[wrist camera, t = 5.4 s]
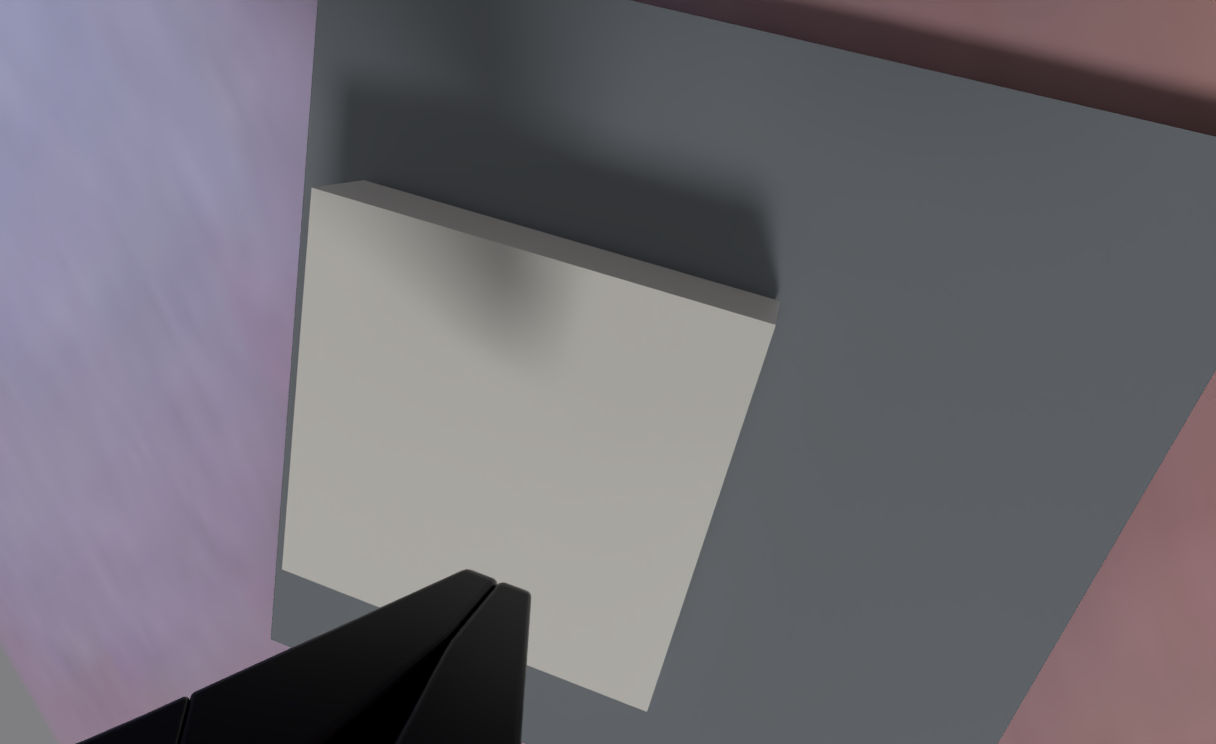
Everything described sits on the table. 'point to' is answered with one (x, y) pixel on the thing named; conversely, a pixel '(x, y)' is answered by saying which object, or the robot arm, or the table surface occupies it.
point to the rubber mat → (821, 336)
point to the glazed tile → (513, 423)
